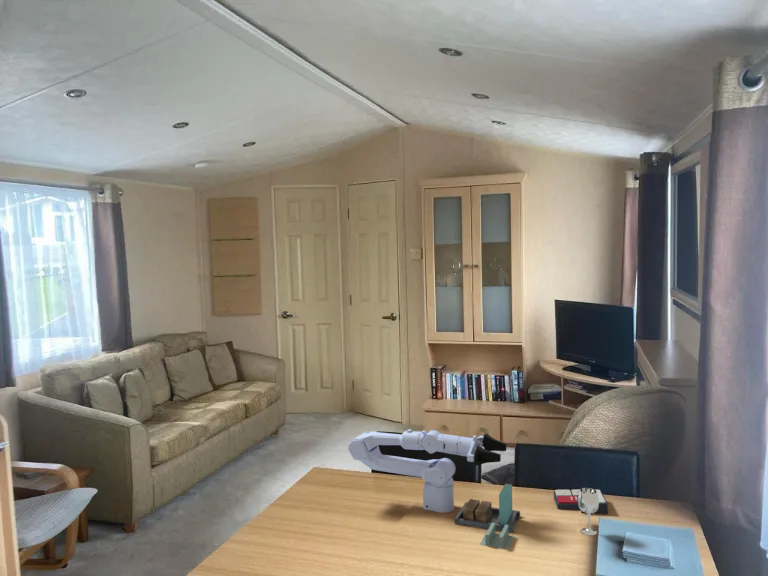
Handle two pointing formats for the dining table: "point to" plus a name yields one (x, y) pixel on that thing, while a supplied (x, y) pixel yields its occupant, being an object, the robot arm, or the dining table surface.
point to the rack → (493, 519)
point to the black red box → (570, 500)
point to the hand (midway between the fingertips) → (503, 452)
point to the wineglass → (588, 506)
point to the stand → (497, 537)
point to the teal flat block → (505, 504)
